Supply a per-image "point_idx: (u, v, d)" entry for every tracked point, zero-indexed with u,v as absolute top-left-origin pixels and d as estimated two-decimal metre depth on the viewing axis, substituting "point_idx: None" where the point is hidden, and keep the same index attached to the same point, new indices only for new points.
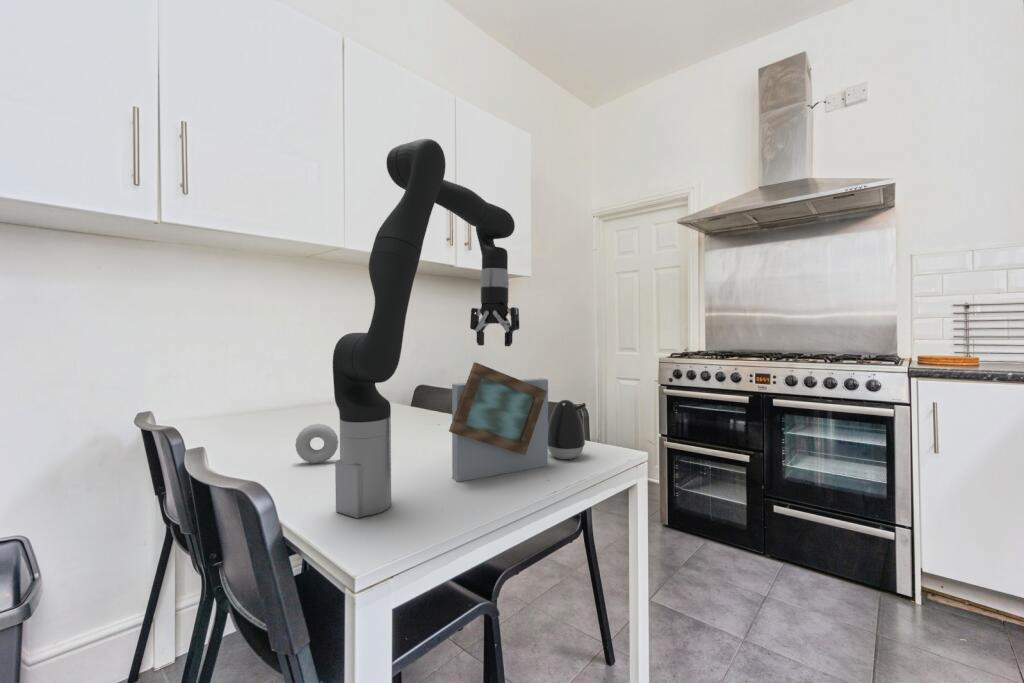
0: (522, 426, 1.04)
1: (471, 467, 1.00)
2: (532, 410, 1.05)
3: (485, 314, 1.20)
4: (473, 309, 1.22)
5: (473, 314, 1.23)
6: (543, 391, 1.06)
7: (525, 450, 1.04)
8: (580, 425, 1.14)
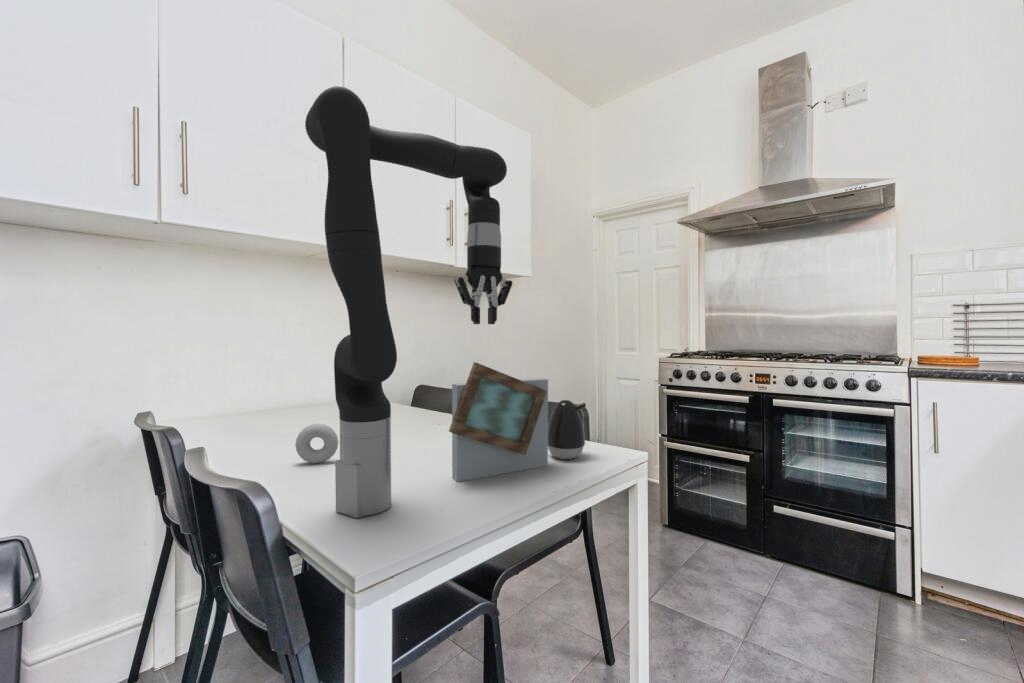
0: (522, 426, 1.04)
1: (471, 467, 1.00)
2: (532, 410, 1.05)
3: (482, 280, 0.96)
4: (461, 278, 0.95)
5: (464, 284, 0.95)
6: (543, 391, 1.06)
7: (525, 450, 1.04)
8: (580, 425, 1.14)
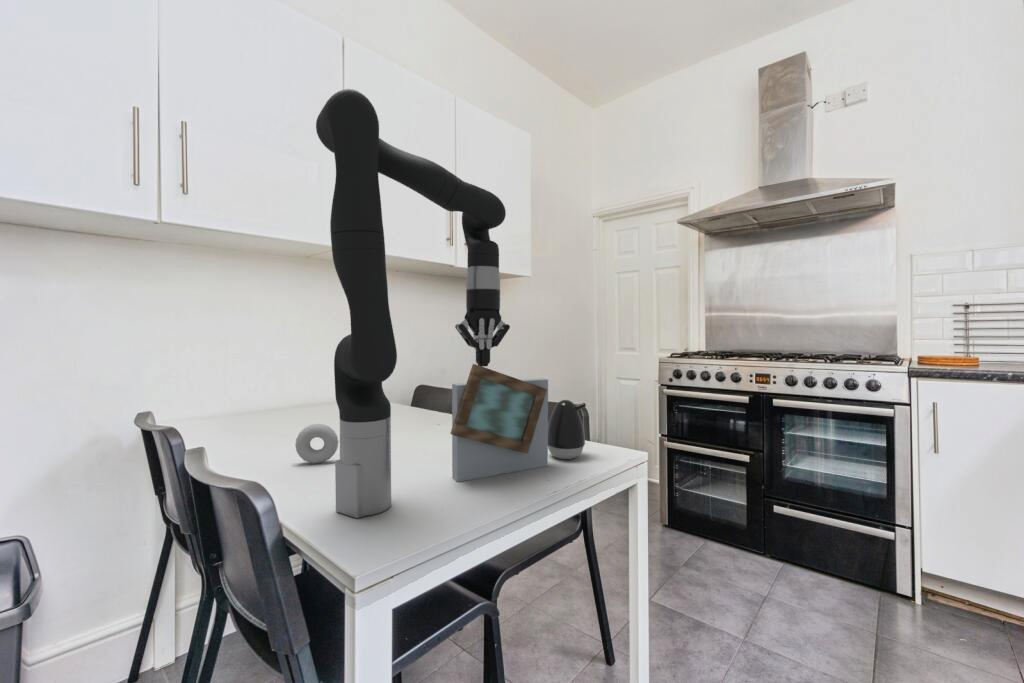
0: (523, 425, 1.05)
1: (471, 467, 1.00)
2: (533, 408, 1.05)
3: (481, 323, 0.96)
4: (462, 325, 0.95)
5: (466, 330, 0.95)
6: (543, 389, 1.06)
7: (527, 449, 1.04)
8: (580, 425, 1.14)
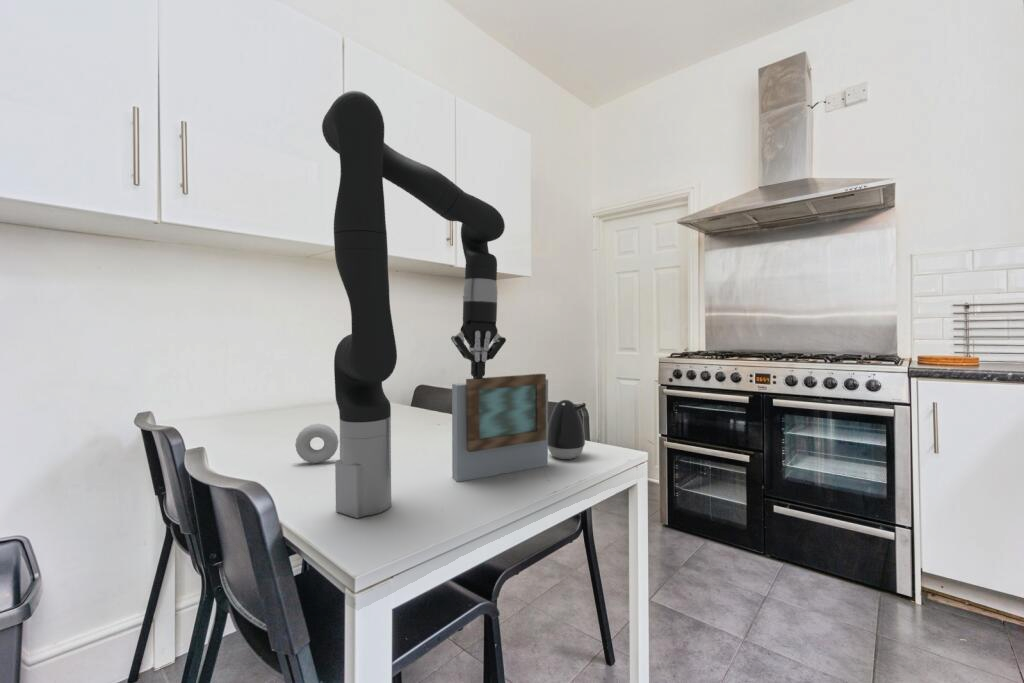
0: (534, 415, 1.06)
1: (471, 467, 1.00)
2: (538, 397, 1.05)
3: (477, 336, 0.96)
4: (458, 337, 0.94)
5: (461, 342, 0.95)
6: (542, 376, 1.06)
7: (544, 435, 1.06)
8: (580, 425, 1.14)
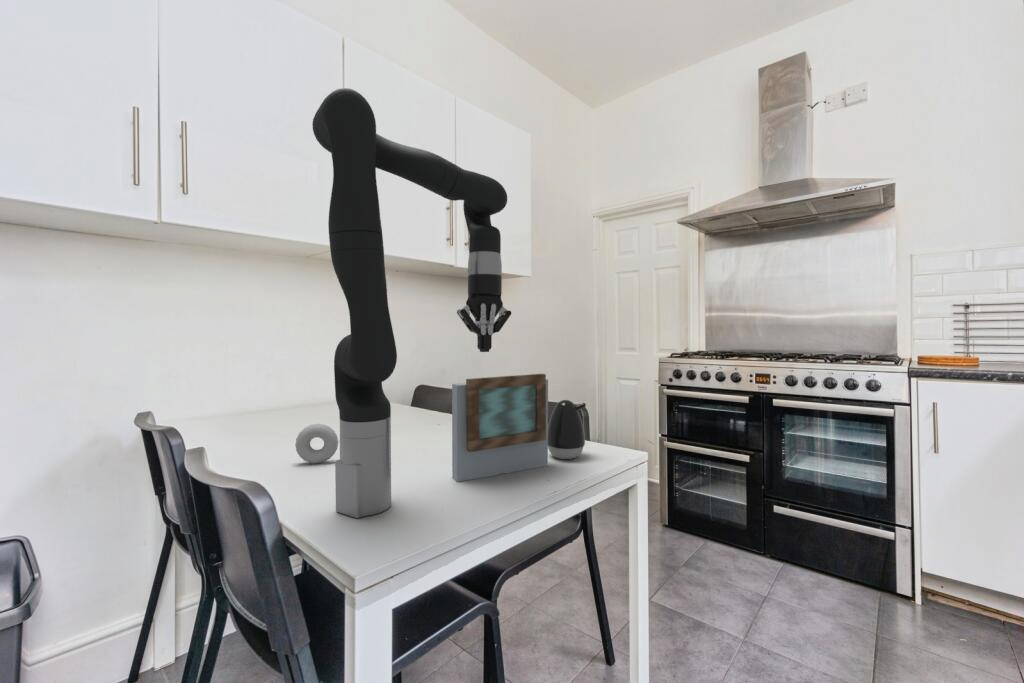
0: (533, 415, 1.06)
1: (471, 467, 1.00)
2: (538, 397, 1.05)
3: (483, 309, 0.96)
4: (463, 310, 0.95)
5: (467, 315, 0.95)
6: (542, 376, 1.06)
7: (544, 436, 1.06)
8: (580, 425, 1.14)
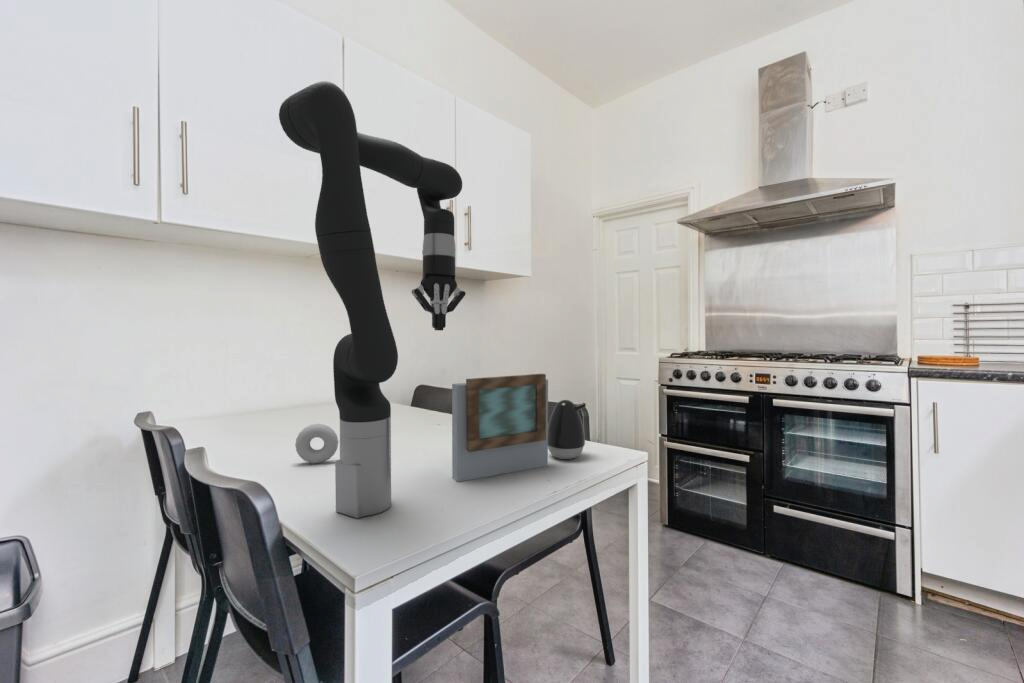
0: (533, 415, 1.06)
1: (471, 467, 1.00)
2: (538, 397, 1.05)
3: (436, 288, 1.00)
4: (417, 290, 0.99)
5: (421, 294, 1.00)
6: (542, 376, 1.06)
7: (544, 436, 1.06)
8: (580, 425, 1.14)
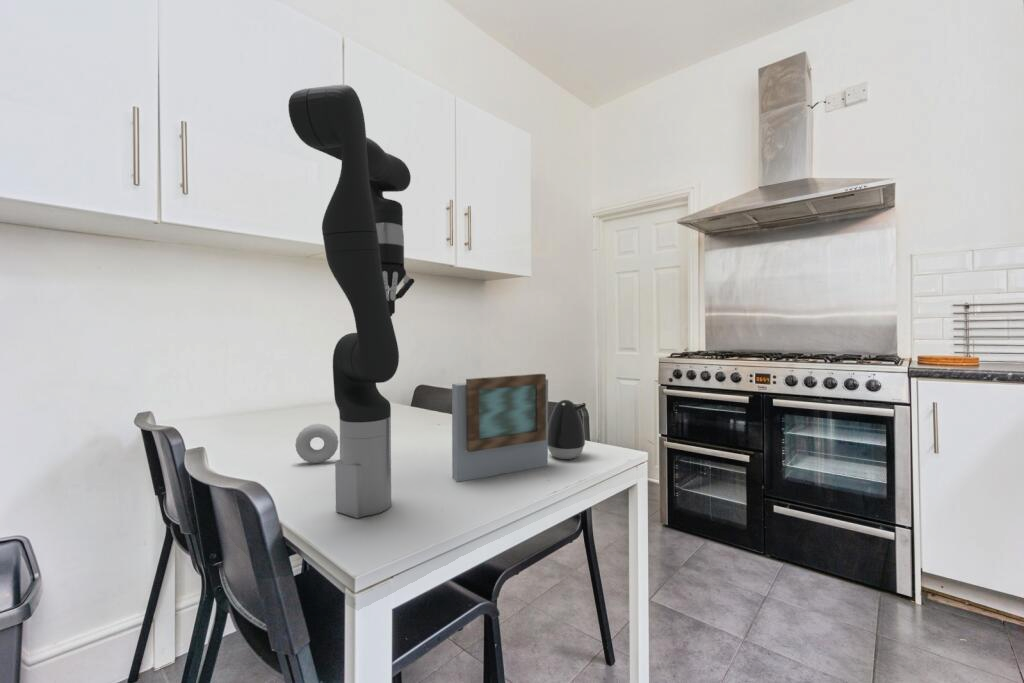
0: (533, 415, 1.06)
1: (471, 467, 1.00)
2: (538, 397, 1.05)
3: (384, 276, 1.05)
4: None
5: None
6: (542, 376, 1.06)
7: (544, 436, 1.06)
8: (580, 425, 1.14)
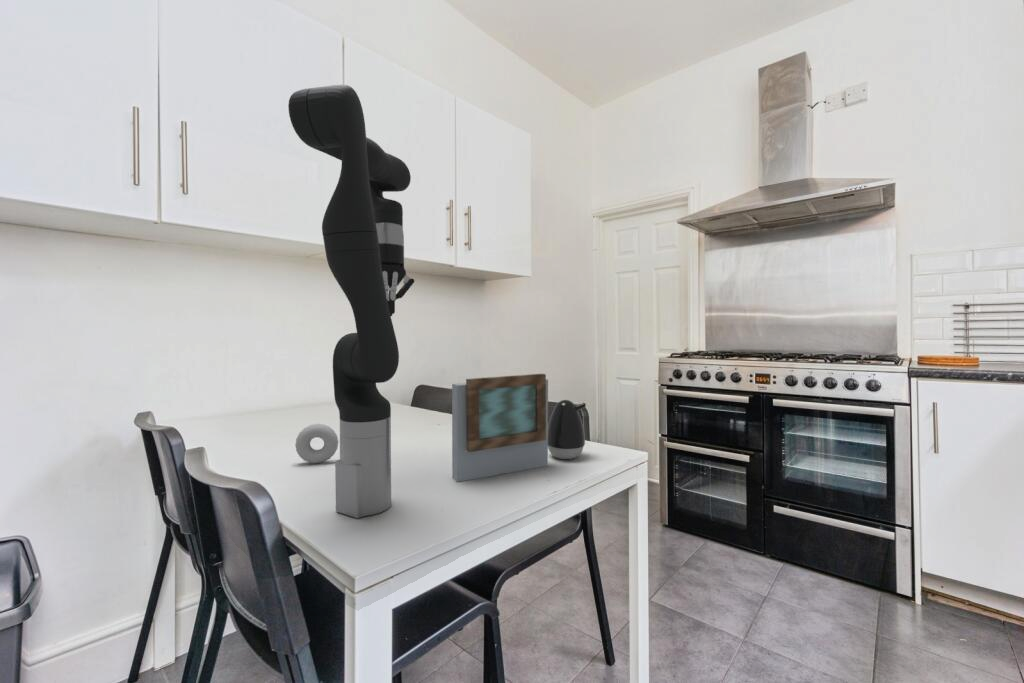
0: (533, 415, 1.06)
1: (471, 467, 1.00)
2: (538, 397, 1.05)
3: (384, 276, 1.05)
4: None
5: None
6: (542, 376, 1.06)
7: (544, 436, 1.06)
8: (580, 425, 1.14)
